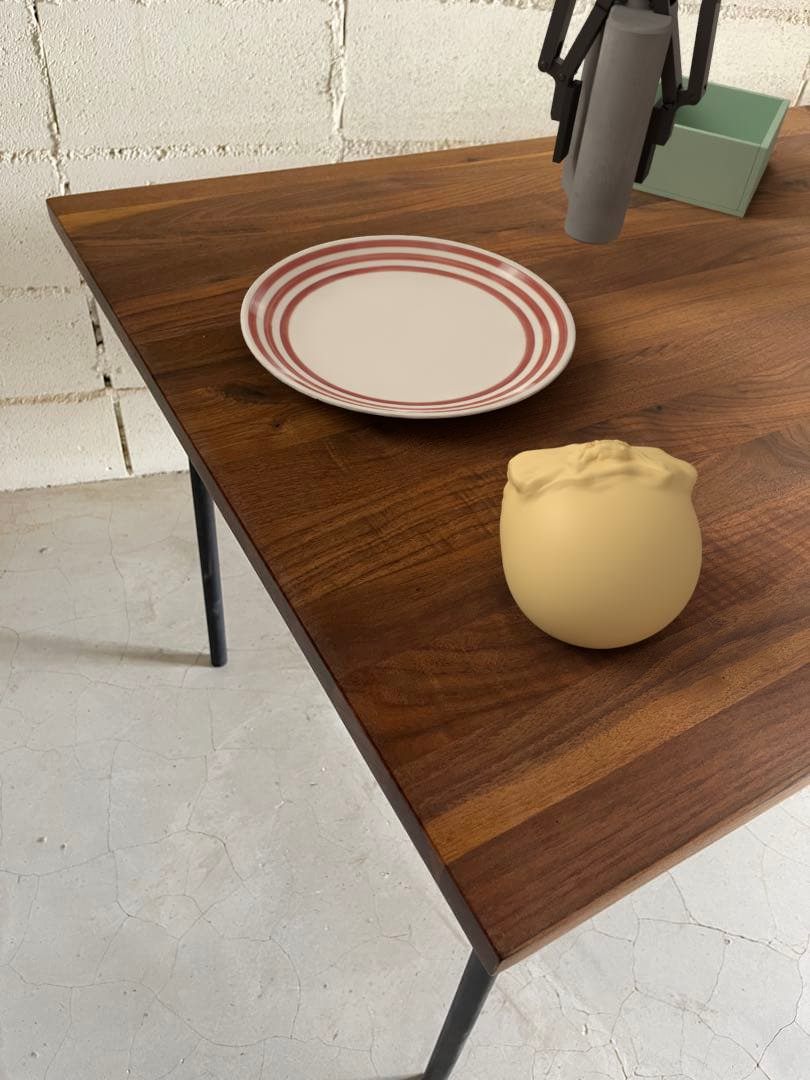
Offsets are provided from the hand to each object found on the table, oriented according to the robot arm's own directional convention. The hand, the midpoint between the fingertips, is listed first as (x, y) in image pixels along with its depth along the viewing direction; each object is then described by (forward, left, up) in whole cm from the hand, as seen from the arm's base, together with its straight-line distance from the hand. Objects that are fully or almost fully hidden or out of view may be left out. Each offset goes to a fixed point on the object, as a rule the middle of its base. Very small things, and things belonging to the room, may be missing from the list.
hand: (600, 167), depth 82 cm
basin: (-5, -28, -9) cm, 30 cm away
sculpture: (-14, +44, -9) cm, 47 cm away
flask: (0, 0, -4) cm, 4 cm away
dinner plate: (+8, +24, -9) cm, 27 cm away
